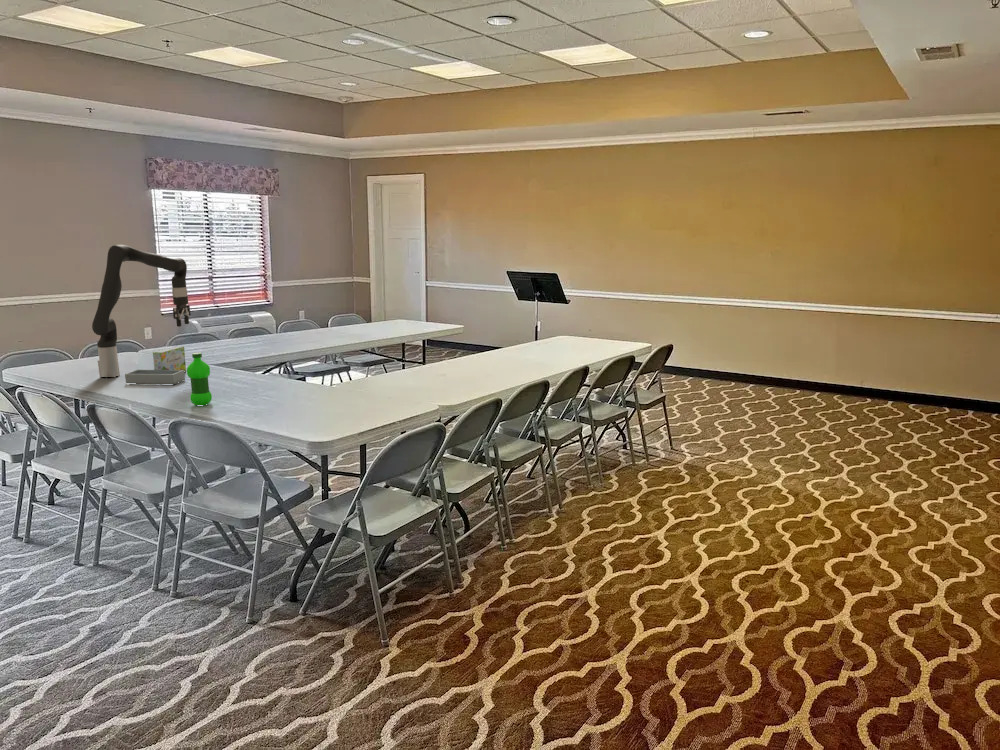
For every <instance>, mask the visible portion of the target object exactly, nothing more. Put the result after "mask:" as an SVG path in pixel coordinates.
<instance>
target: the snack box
mask: <svg viewBox="0 0 1000 750" xmlns="http://www.w3.org/2000/svg"><path fill="white" fill-rule="evenodd" d="M185 352H186V351H185V346H183V345H176V346H175V345H174V346H172V347H167V348H163V349H161V350H156V351H153V352H152V357H153V359H152V360H153V368H154V369H153V370H184V371H186V372H187V365H186V354H185Z"/></svg>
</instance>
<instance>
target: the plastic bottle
mask: <svg viewBox="0 0 1000 750" xmlns="http://www.w3.org/2000/svg"><path fill="white" fill-rule="evenodd" d="M191 354H192V356H191V357H192V358H193V361H192V362H191V363H190V364H188V366H186V375H187V377H188V378H190V385H191V386H190V387H191V393H190V397H189V399H190V402H191V403H192V404H193V405H194V406H196V405H206V404H208V405H209V404H210V403H211V401H212V399H213V396H212V393H211V390H210V386H209V385H210V384H209V376H210V374H211V370H210V369H211V367H210V365H209V364H207V363H206V362H205V361H203V360H202V358H203V354H202V352H194V353H193V352H192V353H191ZM206 406H207V405H206Z"/></svg>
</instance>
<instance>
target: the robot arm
mask: <svg viewBox="0 0 1000 750" xmlns="http://www.w3.org/2000/svg"><path fill="white" fill-rule="evenodd" d="M125 262H138V263H142V264H144V265H147V266H149V267H153V268H157V269H163V270H165V271H168V272H172V273H174V274H173V276H172V277H171V288H172V290H171V293H172V303H173V305H174V306H175V307H172V315H173V320H175V321H176V326H177V327H178V328H180V327H182V317H183V319H184V321H183V322H184V325H190V319H189V318H190V316H191V315H192V314H191V305H190V304H189V297H188V296H189V295H188V287H187V281H186V278H187V272H188V271H187V270H188V268H187V263H186V261H185V259H184V258H181V257H177V258H170V257H167V256H165V255H162V254H157V253H153V252H147V251H143V250H140V249H137V248H133V247H131V246H129V245H127V244H114V245H112V246H111V247H109V249H108V252H107V257H106V267H105V273H104V277H103V282H102V285H101V290H100V296H99V300H98V303H97V304H98V305H97V309H96V312H95V315H94V318H93V321H92V324H91V329H92V331H93V333H94V334H96V335H97V336H100V338H99V340H98V341H97V343H96V344H97V355H98V360H97V366H98V373H99V378H101V377H114V378H117V377H116V376H118V377H120V376H119V375H121V374H120V365H119V359H118V358H119V357H118V356H119V355H118V350H117V349H118V348H117V341H118V333H117V323H116V322H115V320H114V319H113V318H111V317H110V316H111V312H113V309H114V308H115V306H116V305H117V303H118V301H119V300H120V296H121V293H122V288H123V285H122V280H121V275H120V273H121V267H122V264H123V263H125Z"/></svg>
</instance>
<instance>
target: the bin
mask: <svg viewBox="0 0 1000 750" xmlns="http://www.w3.org/2000/svg"><path fill="white" fill-rule="evenodd" d="M185 377H186V376H185V372H184V370H154V369H136V370H135V369H134V370H132V371H129V372H127V373H125V374H124V378H125V384H126V383H136V384H176V383H178V382H180V381H182V380H185V379H186V378H185ZM185 381H186V380H185ZM180 383H181V382H180ZM178 384H179V383H178ZM176 385H177V384H176Z"/></svg>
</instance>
